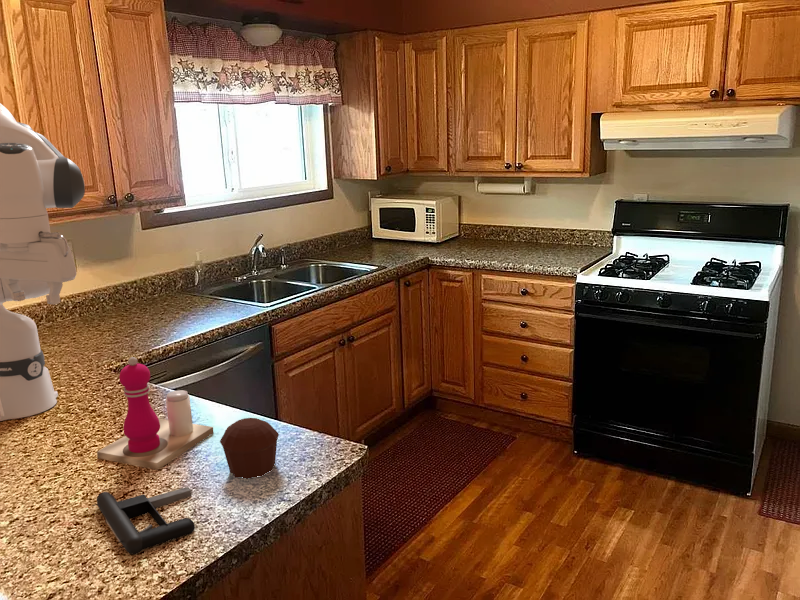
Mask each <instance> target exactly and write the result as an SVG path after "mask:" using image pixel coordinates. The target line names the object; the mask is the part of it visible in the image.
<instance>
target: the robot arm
mask: <svg viewBox="0 0 800 600" xmlns="http://www.w3.org/2000/svg"><path fill="white" fill-rule="evenodd" d="M83 176H84V175H83V173H82V171H81V169H80V167H79V166H78V165H77V164H76V163H75V162H74V161H72V160H71V159H69V158H68V157H65V156H64V155H63V154H62V153H61V152H60V151H59V150H58V149H57V148H56V147H55V145H54V144H52V142H51V141H50V140H49V139H48V138H46V137H45V136H44V135H43V134H41V133H38V132H36V131H34V130H33V128H32V127H31V126H30V125H29V124H26V123H23V122H19V121H17V120H16V119H15V117H14V115H13V114H12V113H11V112H10V110H8V108H7V107H5V105H3V104H2V103H1V102H0V422H2V421H6V420H15V419H23V418H25V417H30V416H33V415H37V414H41V413H43V412H45V411H47V410H49V409H51V408H53V407H54V406H56V404H57V403H58V400H57V397H58V396H59V394H58V390H55V389H54V386H53V382H52V378H51V375H50V372H49V369H48V367H46V366H45V364H46V361H45V354H44V352H43V350H42V349H41V344H40V338H39V334H38V332H39V331H38V328H37V324H36V321H34V320H33V318H31V317H29V316H27V315H24V314H22V313H21V314H20V313H17V312H14V311H11V310H9V309H7V308H6V307H5V306H4V303H6V302H21V301H25V300H29V299H36V298H40V297H43V296H45V297H46V303H47V304H49V305H57V304H60V302H61V297H60V294H61V291H62V288H63V286H64V284H63V283H65V282H70V281H73V280H75V278H76V277H77V268H76V263H75V261H74V256H73V252H72V250H71V247H70V246H69V244H68V240H67V239H66V238H65V237H64V236H63V235H62V234H61V233H60V232H58V231H57V232H56V231H54V232H51V226H50V219H49V214H48V209H52V208H54V209H55V208H57V209H72V208H74V207H75V206H76V205H77V204H79V202H80V201H81V200H82V199H84V196H85V193H86V192H85V191H86V190H85V189H86V188H85V186H86V185H85V180H84V177H83Z"/></svg>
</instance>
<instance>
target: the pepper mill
mask: <svg viewBox="0 0 800 600" xmlns="http://www.w3.org/2000/svg"><path fill="white" fill-rule="evenodd" d="M127 362H128V364H127V365H125V366H124V367H123V368H122V369H121V370H120V373H119V375H118V378H119V383H120V384H121V386H123V387H124V388H123V395H124V396H125V397H126V400H127V413H126V415H125V419H124V421H123V422H124V423H123V434H124V436H126V437H127V438H129V441H128V447H129V450H130V451H131V452H133V453H144V452H148V451H151V450H154V449H156V448H157V447H158V446H159V445H160V439H159V435H158V434H157V433H158V431H159V429H160V422H159V419H158V418H159V417H158V415H157V414H156V412H155V411H154V409H153V408H152V406H151V404H150V400H149V393H150V391H151V390H150V385H149V384H148V383H149V382H150V381H151V371H150V369H149V368H148V367H147V365H145V364H143V363H139V362H138V359H137V358H136V357H134V356H132V357H129V359H128V361H127Z"/></svg>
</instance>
